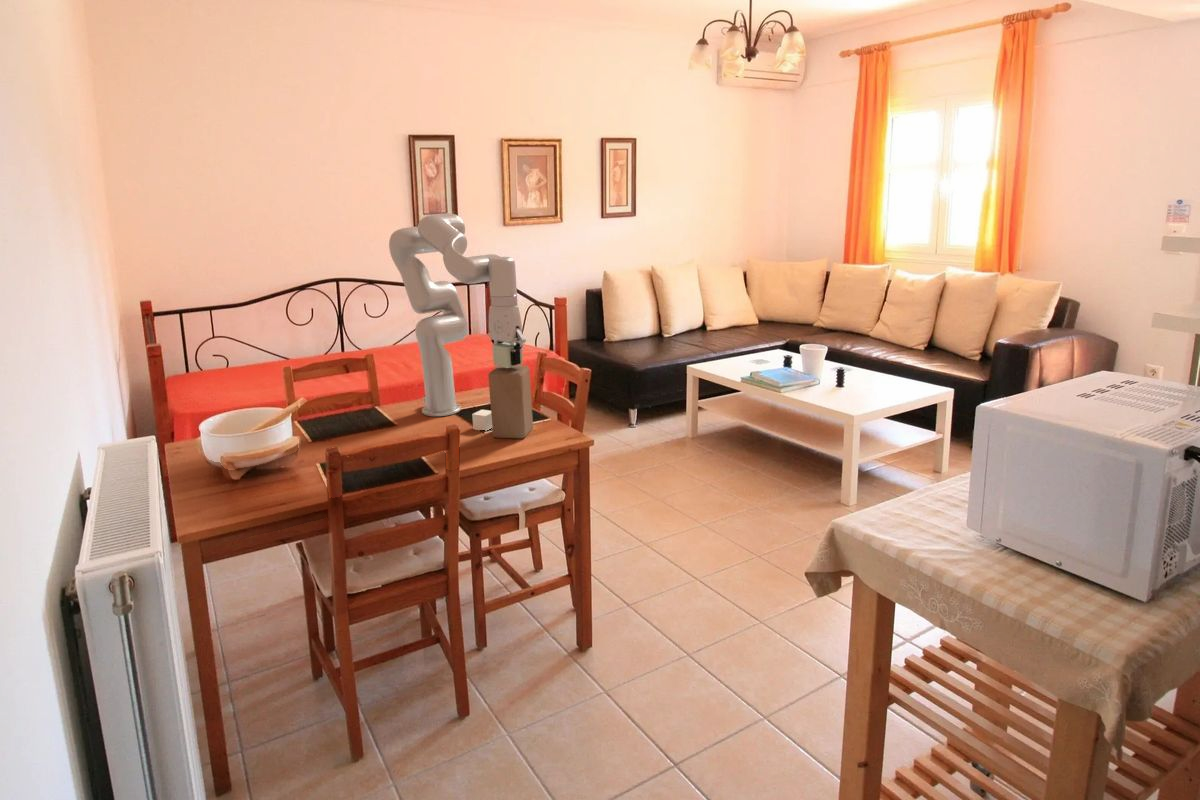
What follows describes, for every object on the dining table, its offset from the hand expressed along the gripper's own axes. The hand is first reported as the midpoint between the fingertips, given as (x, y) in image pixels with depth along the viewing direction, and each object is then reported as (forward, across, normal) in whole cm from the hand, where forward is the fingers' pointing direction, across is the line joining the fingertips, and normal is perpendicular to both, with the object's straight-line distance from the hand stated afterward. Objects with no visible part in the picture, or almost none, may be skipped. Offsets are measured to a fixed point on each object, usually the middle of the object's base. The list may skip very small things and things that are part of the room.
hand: (508, 362), depth 220 cm
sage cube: (+1, 0, 0) cm, 1 cm away
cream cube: (+22, -11, -2) cm, 25 cm away
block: (+22, 0, 0) cm, 22 cm away
